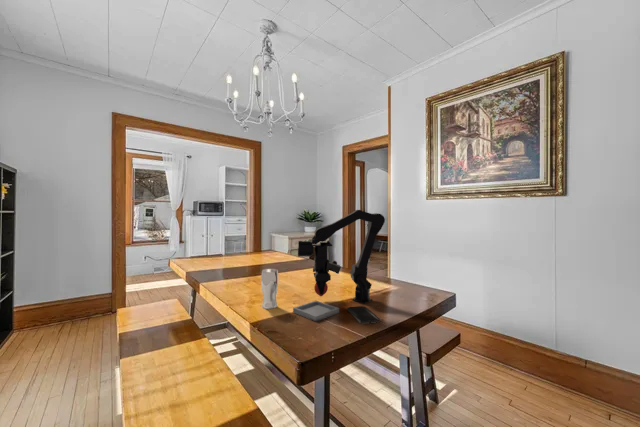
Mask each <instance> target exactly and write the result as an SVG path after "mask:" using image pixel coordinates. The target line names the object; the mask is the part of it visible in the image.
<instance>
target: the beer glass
mask: <svg viewBox="0 0 640 427" xmlns="http://www.w3.org/2000/svg"><path fill="white" fill-rule="evenodd" d="M260 282H261V284H260V285H261V292H262V304H261V308H262V309H265V310H273V309H276V308H277V307H278V302H277V294H278V287H279V269H276V268H263V269H262V270H261V277H260Z"/></svg>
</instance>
